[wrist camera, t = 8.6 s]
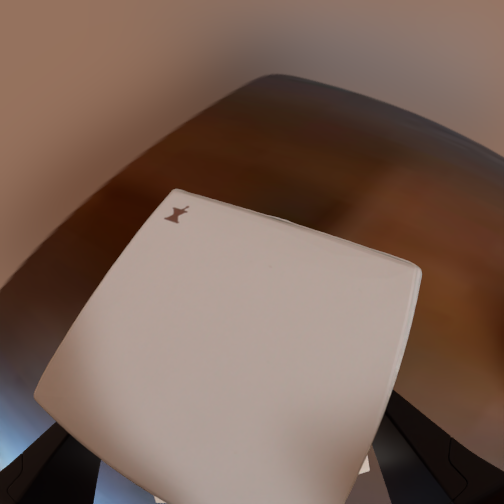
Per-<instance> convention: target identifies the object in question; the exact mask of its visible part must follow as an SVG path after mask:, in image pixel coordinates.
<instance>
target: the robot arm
mask: <svg viewBox="0 0 504 504" xmlns="http://www.w3.org/2000/svg"><path fill="white" fill-rule="evenodd" d="M372 446H373V449H374V452H375V454H376V457H377V460H378V463H379V466H380V469H381V472H382V475H383V478H384V481H385V484H386V487H387V490H388V493H389V497H390V500H391V503H392V504H504V471H502V470H500V469H499V468H497V467H495V466H493V465H492V464H490V463H488V462H487V461H485V460H483V459H482V458H480V457H479V456H477V455H475V454H474V453H472V452H471V451H469V450H468V449H467V448H465V447H464V446H463V445H461V444H460V443H459V442H457V441H456V440H455V439H454V438H451V436H450V435H449V434H447V433H446V432H445V431H444V430H442V429H441V428H440V427H439V426H437V425H436V424H435V423H434V422H432V421H431V420H430V419H429V418H427V417H426V416H425V415H424V414H423V413H421V412H420V411H419V410H418V409H416V408H415V407H414V406H413V405H411V404H410V403H409V402H408V401H407V400H405V399H404V398H403V397H402V396H400V395H399V394H398V393H397V392H396V391H394V390H392V393H391V396H390V398H389V401H388V404H387V407H386V410H385V412H384V415H383V418H382V420H381V423H380V426H379V428H378V431H377V433H376V435H375V438H374V440H373V443H372ZM100 462H101V459H100V458H98V457H97V456H96V455H95V454H93V453H92V452H91V451H90V450H88V449H87V448H86V447H85V446H83V445H82V444H81V443H80V442H79V441H77V440H76V439H75V438H74V437H73V436H72V435H71V434H69V433H68V432H67V431H66V430H65V429H64V428H63V427H62V426H61V425H60V424H59V423H57V422H55V423H54V424H53V425H52V426H51V427H50V428H49V429H48V430H47V431H45V432H44V433H43V434H42V435H41V436H40V437H39V438H38V439H37V440H36V441H35V442H33V443H32V444H31V445H30V446H29V447H28V448H27V449H26V450H25V451H24V452H23V454H20V455H19V456H18V457H17V458H16V459H15V460H14V461H13V462H11V463H10V464H9V465H8V466H7V467H5V468H4V469H3V470H2V471H0V504H93V502H94V496H95V490H96V484H97V478H98V472H99V467H100Z"/></svg>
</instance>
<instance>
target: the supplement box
mask: <svg viewBox="0 0 504 504" xmlns="http://www.w3.org/2000/svg"><path fill="white" fill-rule="evenodd" d="M421 277H422V272H421V269H420V268H419V267H418V266H416V265H415V264H413V263H412V262H409V261H407V260H404V259H401V258H398V257H395V256H392V255H390V254H387V253H384V252H380V251H377V250H374V249H371V248H368V247H365V246H362V245H359V244H356V243H353V242H350V241H347V240H344V239H341V238H338V237H335V236H332V235H329V234H326V233H323V232H319V231H316V230H313V229H310V228H307V227H304V226H301V225H297V224H294V223H292V222H290V221H287V220H284V219H280V218H277V217H273V216H269V215H265V214H261V213H258V212H255V211H251V210H248V209H245V208H241V207H237V206H234V205H231V204H227V203H224V202H220V201H217V200H214V199H210V198H207V197H203V196H200V195H196V194H192V193H189V192H186V191H183V190H180V189H174V190H172V191H171V192H170V193H169V195H168V196H167V197H166V198H165V199H164V201H163V202H162V203H161V204H160V205H159V206H158V207H157V208H156V210H155V211H154V212H153V213H152V214H151V216H150V217H149V218H148V219H147V221H146V222H145V223H144V224H143V226H142V227H141V228H140V229H139V231H138V232H137V233H136V235H135V236H134V237H133V239H132V240H131V241H130V243H129V244H128V245H127V247H126V248H125V249H124V251H123V252H122V253H121V255H120V256H119V257H118V259H117V260H116V261H115V263H114V264H113V265H112V267H111V268H110V270H109V271H108V272H107V274H106V275H105V277H104V278H103V280H102V281H101V283H100V284H99V286H98V287H97V288H96V290H95V291H94V293H93V294H92V296H91V297H90V299H89V300H88V302H87V303H86V304H85V306H84V308H83V309H82V311H81V312H80V314H79V315H78V317H77V318H76V320H75V321H74V323H73V325H72V326H71V328H70V329H69V331H68V333H67V334H66V336H65V338H64V339H63V341H62V343H61V344H60V346H59V347H58V349H57V350H56V352H55V354H54V356H53V357H52V359H51V360H50V362H49V364H48V366H47V368H46V369H45V371H44V373H43V375H42V377H41V379H40V381H39V383H38V385H37V388H36V390H35V392H34V399H35V400H36V401H37V402H38V404H39V405H40V406H41V407H42V408H43V409H44V410H45V411H46V412H47V413H48V414H49V415H50V416H51V417H52V418H53V419H54V420H55V421H56V422H57V423H59V424H60V425H61V426H62V427H63V428H64V429H65V430H66V431H67V432H68V433H69V434H71V435H72V436H73V437H74V438H75V439H76V440H77V441H79V442H80V443H81V444H82V445H83V446H85V447H86V448H87V449H88V450H90V451H91V452H92V453H93V454H95V455H96V456H97V457H98V458H100V459H101V460H102V461H104V462H105V463H106V464H108V465H109V466H110V467H112V468H113V469H114V470H116V471H117V472H119V473H120V474H122V475H123V476H124V477H126V478H127V479H129V480H130V481H132V482H133V483H135V484H136V485H138V486H139V487H141V488H143V489H144V490H146V491H147V492H149V493H151V494H152V495H154V496H155V497H157V498H159V499H161V500H162V501H164V502H166V503H167V504H344V503H345V501H346V499H347V497H348V495H349V493H350V491H351V489H352V487H353V485H354V482H355V480H356V478H357V476H358V474H359V472H360V470H361V467H362V465H363V463H364V461H365V459H366V456H367V454H368V452H369V450H370V447H371V445H372V443H373V440H374V438H375V435H376V433H377V431H378V428H379V426H380V423H381V420H382V418H383V415H384V412H385V410H386V407H387V404H388V401H389V398H390V396H391V393H392V390H393V387H394V384H395V380H396V377H397V374H398V371H399V368H400V364H401V361H402V357H403V354H404V350H405V347H406V343H407V339H408V336H409V332H410V328H411V324H412V319H413V315H414V311H415V306H416V302H417V297H418V292H419V287H420V282H421Z"/></svg>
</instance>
